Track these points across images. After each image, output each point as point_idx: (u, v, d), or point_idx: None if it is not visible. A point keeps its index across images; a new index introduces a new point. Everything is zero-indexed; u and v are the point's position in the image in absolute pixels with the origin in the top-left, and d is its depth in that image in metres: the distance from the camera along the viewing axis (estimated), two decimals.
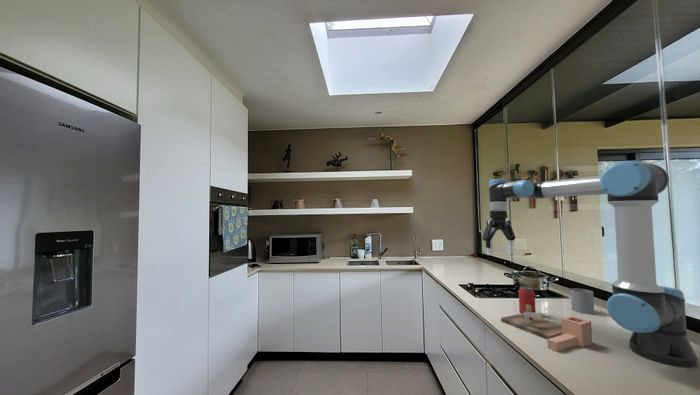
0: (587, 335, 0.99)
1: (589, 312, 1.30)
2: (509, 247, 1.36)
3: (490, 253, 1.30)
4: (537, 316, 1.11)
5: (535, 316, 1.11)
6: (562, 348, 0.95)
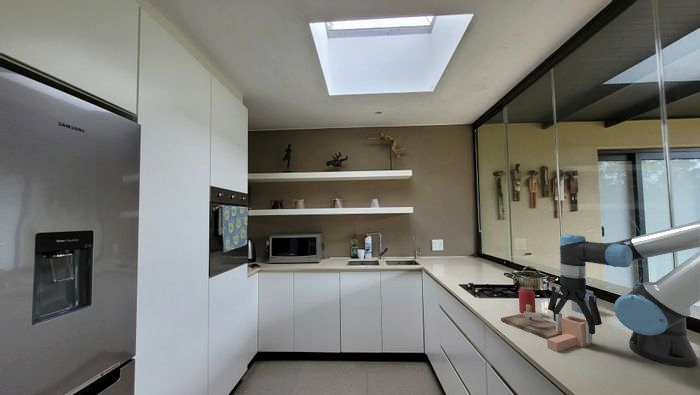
0: None
1: None
2: None
3: None
4: (537, 316, 1.11)
5: (535, 316, 1.11)
6: (562, 348, 0.95)
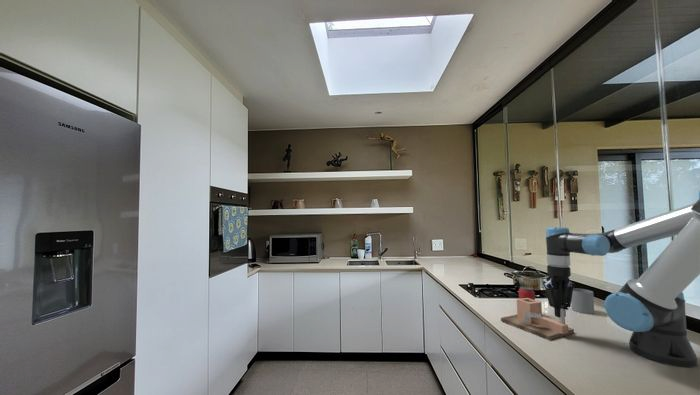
0: None
1: (589, 312, 1.30)
2: None
3: None
4: (537, 316, 1.11)
5: (535, 316, 1.11)
6: None
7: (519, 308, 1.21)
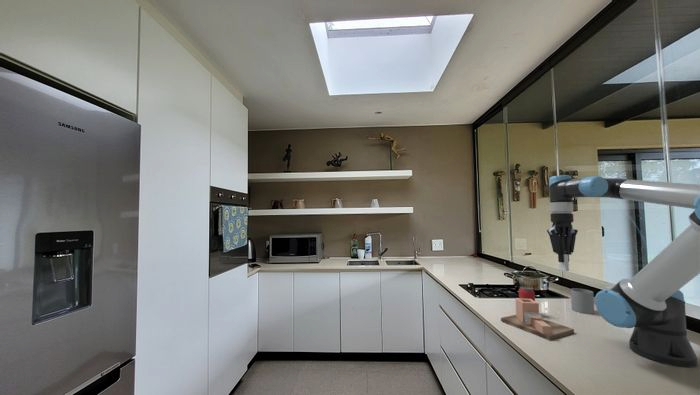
0: None
1: (589, 312, 1.30)
2: None
3: (564, 268, 1.12)
4: (537, 316, 1.11)
5: (535, 316, 1.11)
6: None
7: (516, 307, 1.22)
